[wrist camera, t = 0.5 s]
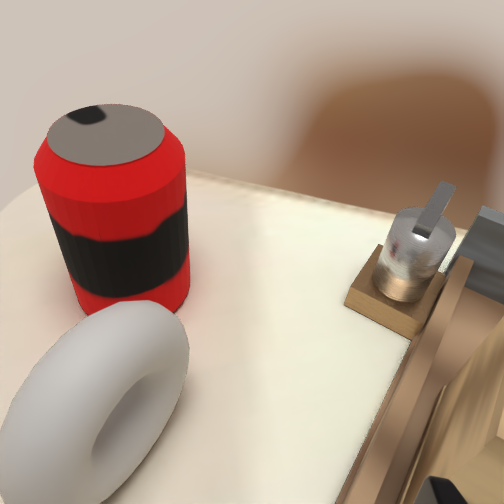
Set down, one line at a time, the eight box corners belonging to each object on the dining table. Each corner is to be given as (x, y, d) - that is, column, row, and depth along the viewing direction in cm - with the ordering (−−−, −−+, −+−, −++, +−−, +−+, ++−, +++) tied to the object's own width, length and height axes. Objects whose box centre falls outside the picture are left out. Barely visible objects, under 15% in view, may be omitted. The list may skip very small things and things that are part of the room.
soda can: (149, 232, 35) (130, 83, 26) (212, 290, 31) (214, 140, 22) (57, 280, 31) (-2, 124, 22) (117, 353, 27) (75, 200, 19)
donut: (157, 360, 27) (138, 244, 20) (204, 388, 26) (203, 277, 19) (20, 521, 21) (-79, 437, 14) (75, 567, 20) (-1, 502, 13)
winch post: (412, 341, 29) (461, 260, 24) (343, 304, 31) (374, 221, 25) (441, 280, 33) (488, 198, 28) (378, 250, 35) (411, 168, 29)
